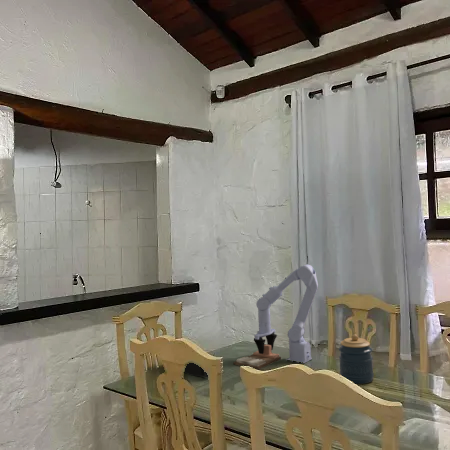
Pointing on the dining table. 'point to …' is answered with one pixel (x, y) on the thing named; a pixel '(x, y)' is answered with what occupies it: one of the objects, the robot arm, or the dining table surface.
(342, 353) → the canister
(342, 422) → the dining table surface
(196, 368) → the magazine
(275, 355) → the stub
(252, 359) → the ticket board
